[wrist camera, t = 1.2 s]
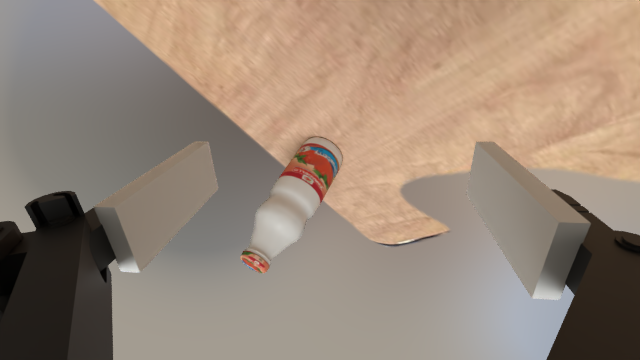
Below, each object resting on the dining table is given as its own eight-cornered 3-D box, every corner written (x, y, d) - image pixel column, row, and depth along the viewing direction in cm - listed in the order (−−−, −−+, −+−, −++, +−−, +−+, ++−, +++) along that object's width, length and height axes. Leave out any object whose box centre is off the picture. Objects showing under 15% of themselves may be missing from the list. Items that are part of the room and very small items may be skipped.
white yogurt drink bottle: (297, 150, 68) (222, 255, 51) (315, 127, 61) (235, 241, 44) (330, 175, 69) (267, 285, 53) (352, 156, 62) (287, 276, 45)
